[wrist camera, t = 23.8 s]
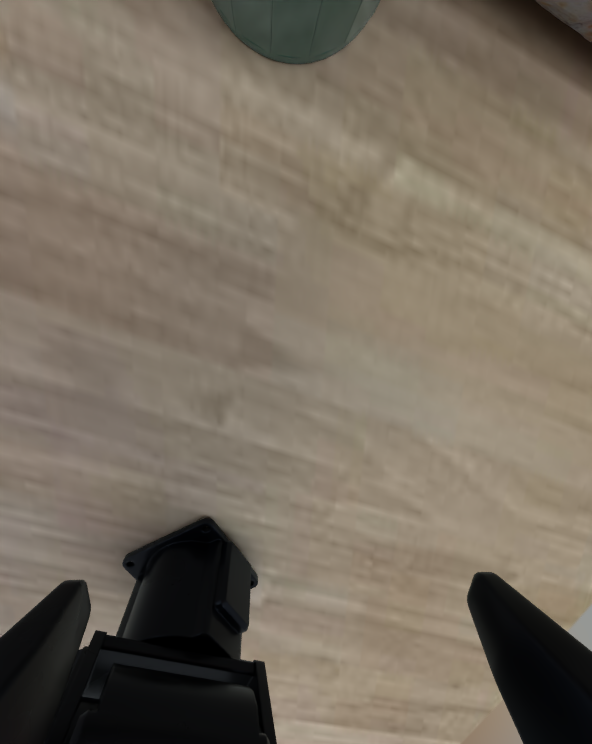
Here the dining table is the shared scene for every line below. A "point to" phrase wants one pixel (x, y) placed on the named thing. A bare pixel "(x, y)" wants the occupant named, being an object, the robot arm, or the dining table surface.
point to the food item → (572, 14)
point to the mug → (296, 26)
